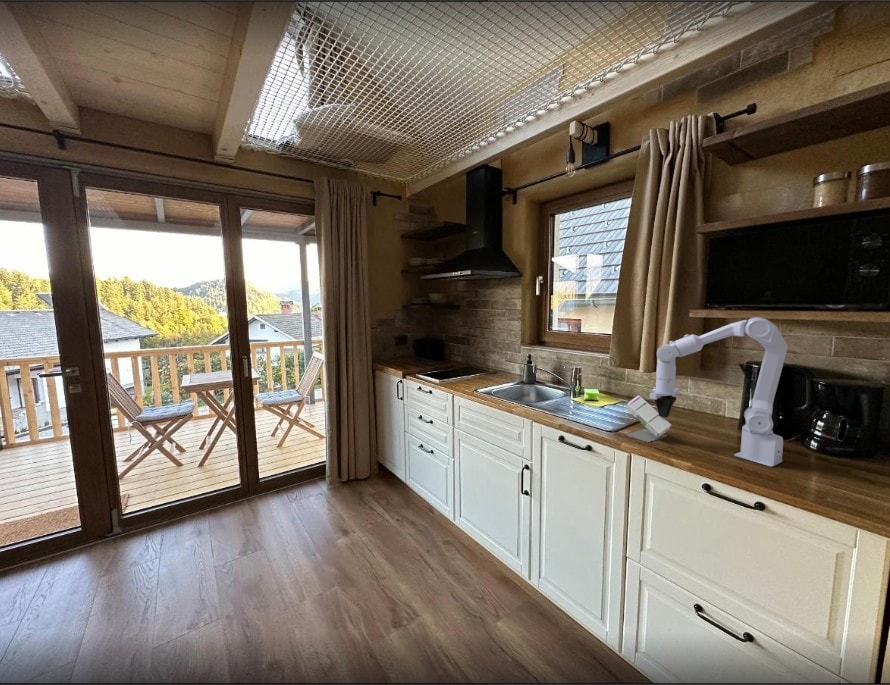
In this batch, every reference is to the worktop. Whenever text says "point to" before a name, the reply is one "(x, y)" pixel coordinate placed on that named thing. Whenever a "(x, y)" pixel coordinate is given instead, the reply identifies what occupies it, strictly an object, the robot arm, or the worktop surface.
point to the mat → (645, 435)
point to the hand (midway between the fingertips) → (663, 416)
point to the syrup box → (648, 416)
